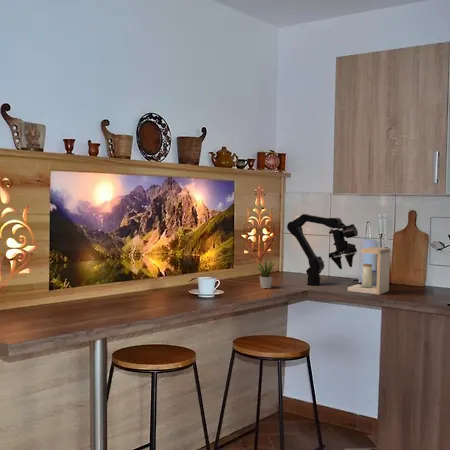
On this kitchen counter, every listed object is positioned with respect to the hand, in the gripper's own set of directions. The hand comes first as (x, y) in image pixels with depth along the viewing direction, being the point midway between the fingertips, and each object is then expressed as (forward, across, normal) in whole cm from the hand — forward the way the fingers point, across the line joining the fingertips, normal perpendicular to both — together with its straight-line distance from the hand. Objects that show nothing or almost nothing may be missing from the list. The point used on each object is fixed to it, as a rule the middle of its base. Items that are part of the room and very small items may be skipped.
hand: (346, 268), depth 358 cm
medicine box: (+13, +8, -20) cm, 25 cm away
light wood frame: (+14, -8, -4) cm, 17 cm away
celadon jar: (+14, -8, -4) cm, 16 cm away
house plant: (+2, +16, +41) cm, 44 cm away
